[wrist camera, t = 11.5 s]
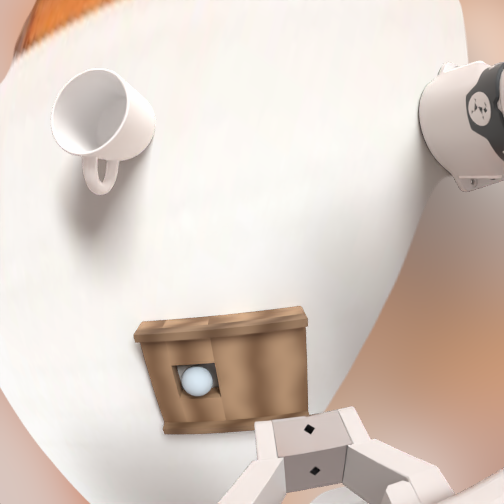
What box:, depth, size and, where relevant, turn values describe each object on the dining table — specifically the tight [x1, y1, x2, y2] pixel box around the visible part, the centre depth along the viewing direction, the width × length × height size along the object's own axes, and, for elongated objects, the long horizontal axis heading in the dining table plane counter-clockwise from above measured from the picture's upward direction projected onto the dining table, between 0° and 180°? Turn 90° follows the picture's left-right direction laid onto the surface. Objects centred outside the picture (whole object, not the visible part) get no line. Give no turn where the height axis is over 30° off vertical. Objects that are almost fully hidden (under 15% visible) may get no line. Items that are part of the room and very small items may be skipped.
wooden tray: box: [133, 306, 309, 434], centre depth 38 cm, size 20×16×4 cm
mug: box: [51, 68, 156, 195], centre depth 29 cm, size 12×8×10 cm
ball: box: [182, 366, 213, 396], centre depth 38 cm, size 4×4×4 cm
